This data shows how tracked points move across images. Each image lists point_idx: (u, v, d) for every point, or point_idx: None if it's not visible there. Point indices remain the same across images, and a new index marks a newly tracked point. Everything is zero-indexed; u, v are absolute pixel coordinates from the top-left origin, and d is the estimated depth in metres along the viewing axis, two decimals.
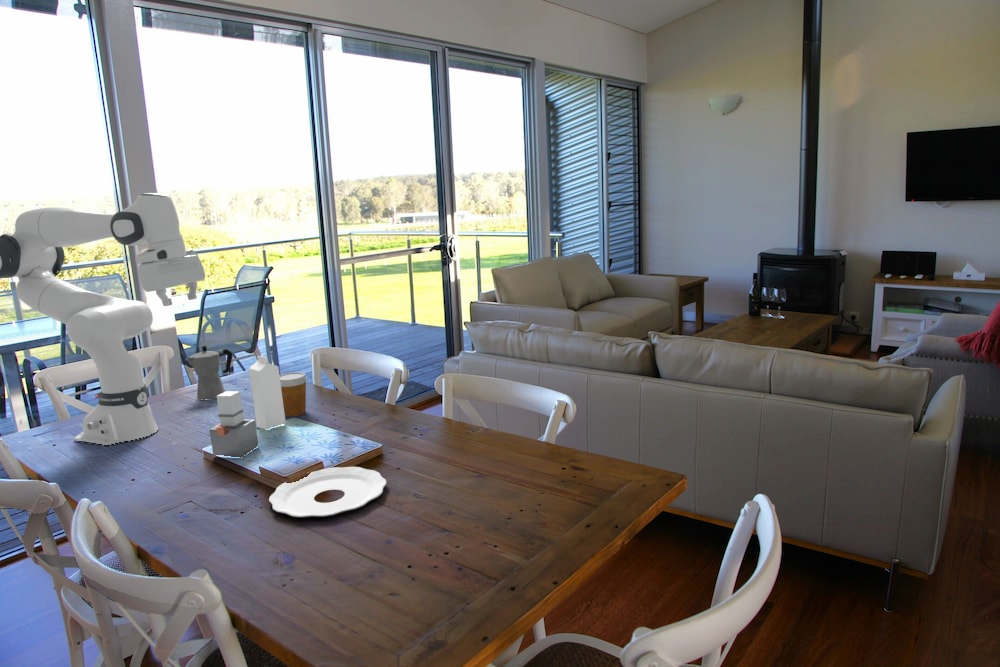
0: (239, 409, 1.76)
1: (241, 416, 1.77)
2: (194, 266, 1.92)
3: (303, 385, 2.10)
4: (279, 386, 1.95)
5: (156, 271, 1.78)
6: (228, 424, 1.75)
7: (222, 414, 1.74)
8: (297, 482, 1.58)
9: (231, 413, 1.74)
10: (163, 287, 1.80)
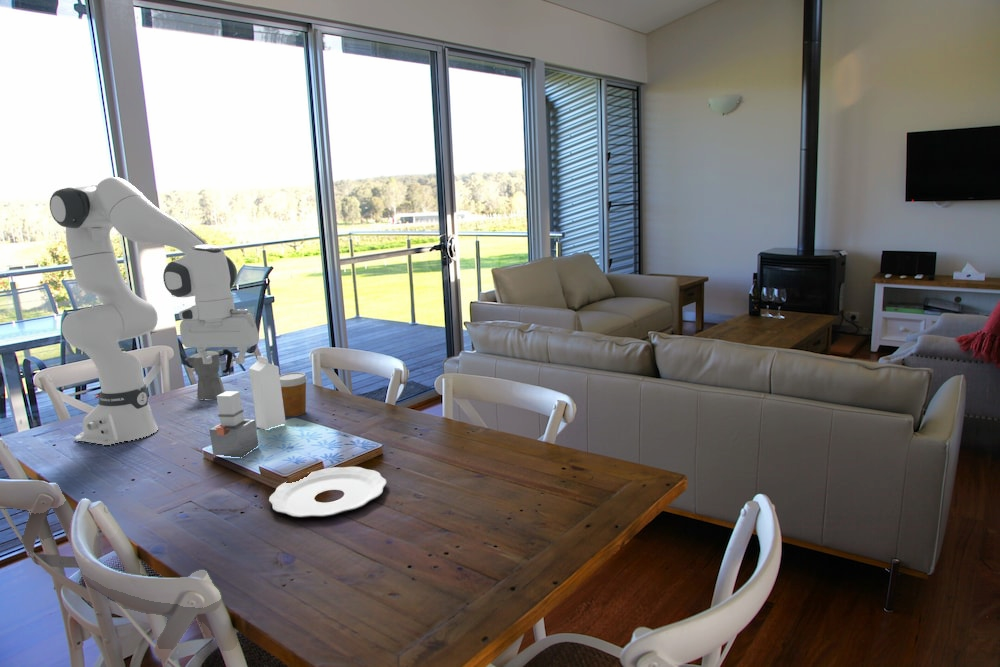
0: (239, 409, 1.76)
1: (241, 416, 1.77)
2: (238, 330, 1.69)
3: (303, 385, 2.10)
4: (279, 386, 1.95)
5: (187, 329, 1.72)
6: (228, 424, 1.75)
7: (222, 414, 1.74)
8: (297, 482, 1.58)
9: (231, 413, 1.74)
10: (194, 346, 1.72)
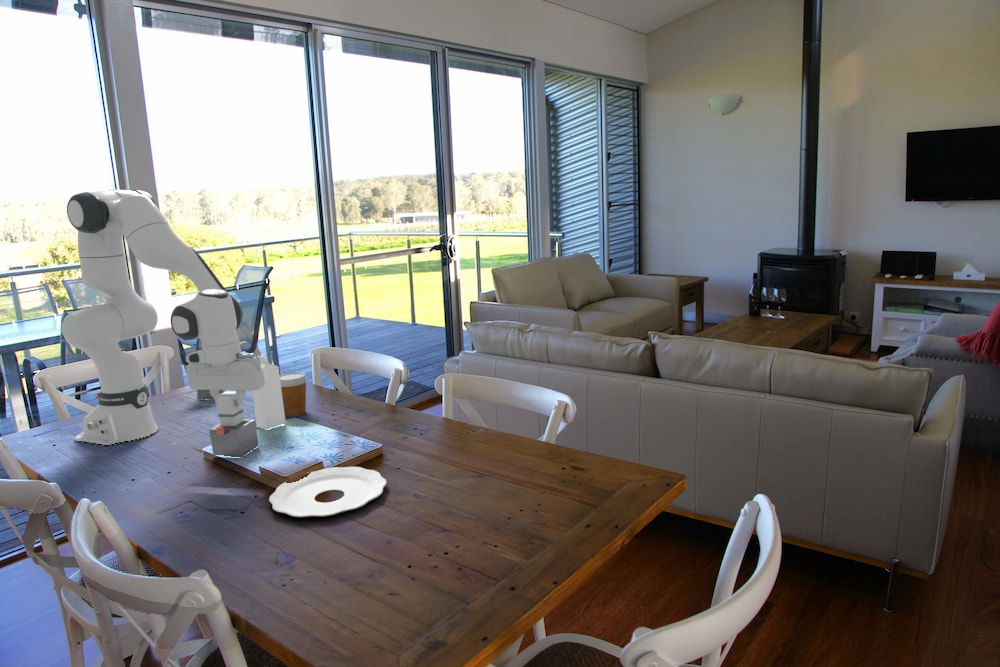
0: (239, 409, 1.76)
1: (241, 416, 1.77)
2: (244, 374, 1.71)
3: (303, 385, 2.10)
4: (279, 386, 1.95)
5: (194, 371, 1.74)
6: (228, 424, 1.75)
7: (222, 414, 1.74)
8: (297, 482, 1.58)
9: (231, 413, 1.74)
10: (200, 388, 1.75)
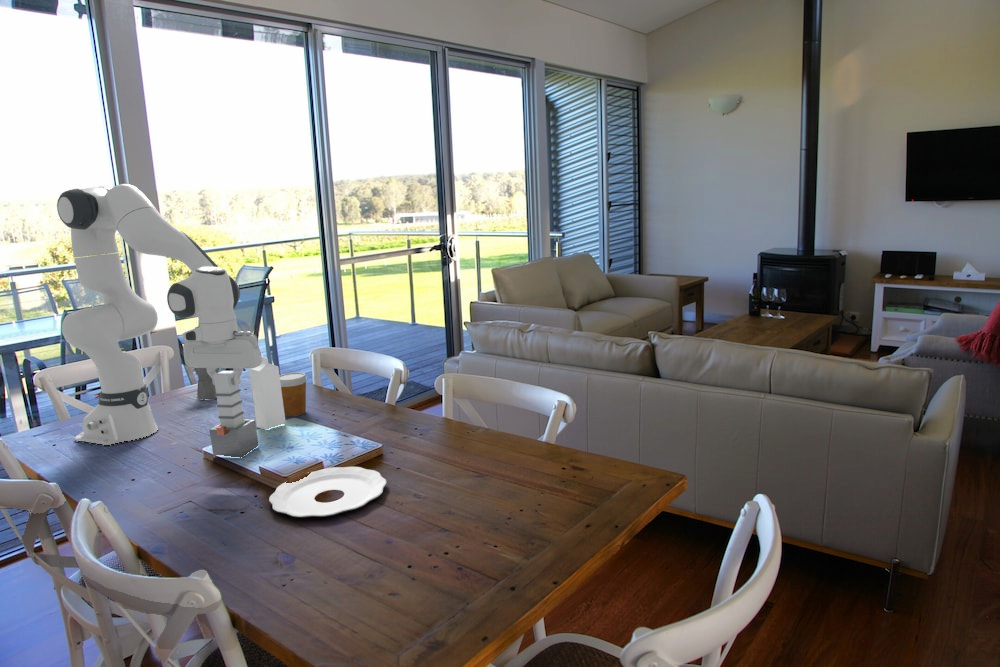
0: (236, 388, 1.75)
1: (238, 396, 1.76)
2: (241, 351, 1.70)
3: (303, 385, 2.10)
4: (279, 386, 1.95)
5: (191, 350, 1.73)
6: (225, 403, 1.74)
7: (219, 393, 1.73)
8: (297, 482, 1.58)
9: (228, 392, 1.73)
10: (197, 366, 1.73)
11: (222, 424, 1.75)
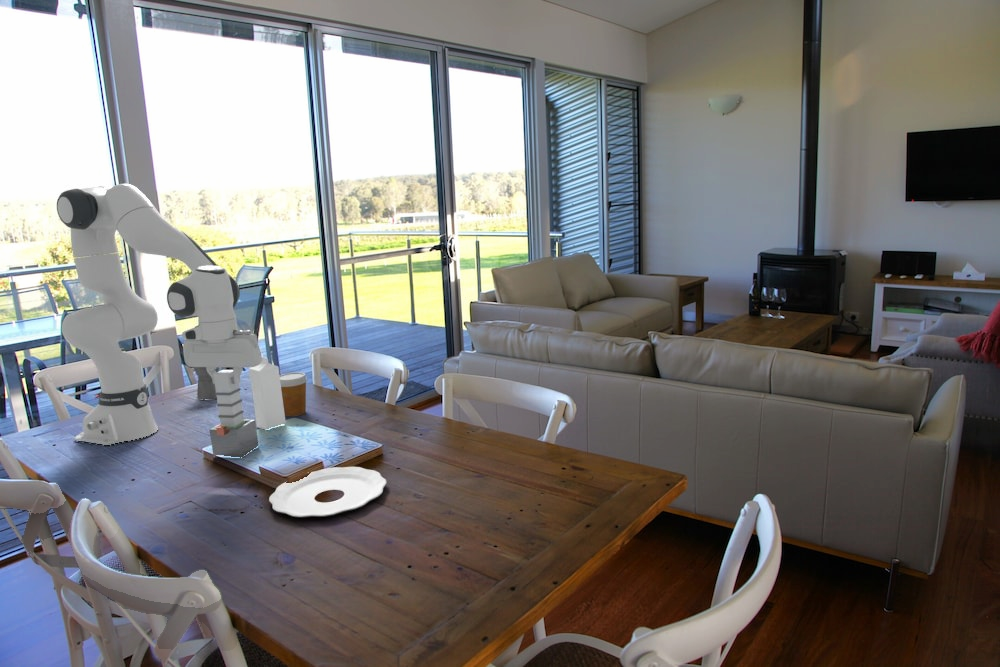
0: (236, 387, 1.75)
1: (238, 395, 1.76)
2: (241, 350, 1.70)
3: (303, 385, 2.10)
4: (279, 386, 1.95)
5: (190, 349, 1.73)
6: (225, 402, 1.74)
7: (219, 392, 1.73)
8: (297, 482, 1.58)
9: (228, 391, 1.73)
10: (197, 365, 1.73)
11: (222, 423, 1.75)
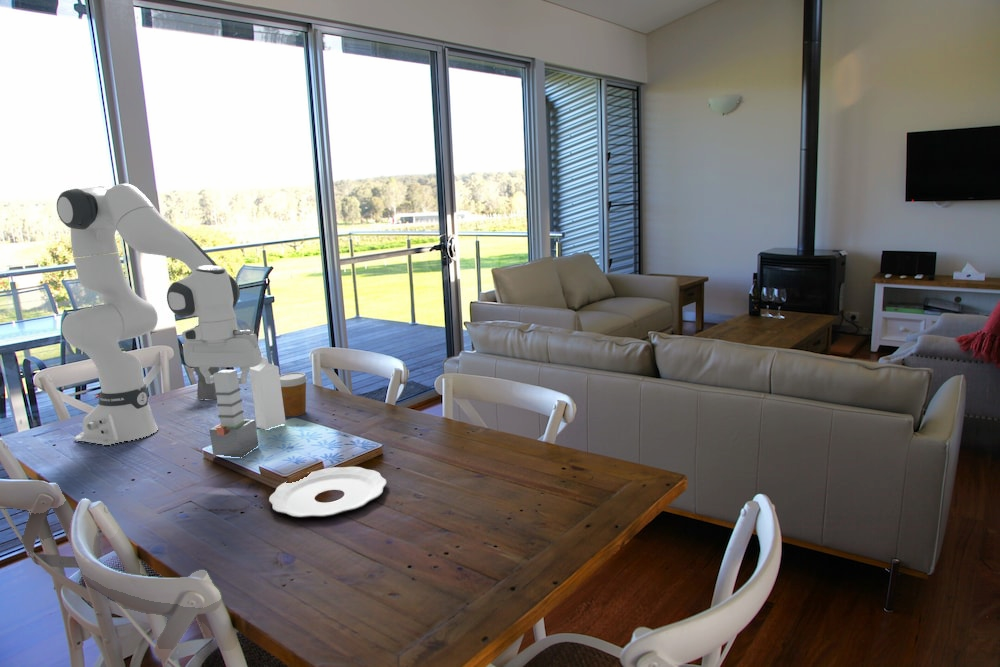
0: (236, 387, 1.75)
1: (238, 395, 1.76)
2: (241, 350, 1.70)
3: (303, 385, 2.10)
4: (279, 386, 1.95)
5: (190, 349, 1.73)
6: (225, 402, 1.74)
7: (219, 392, 1.73)
8: (297, 482, 1.58)
9: (228, 391, 1.73)
10: (197, 365, 1.73)
11: (222, 423, 1.75)
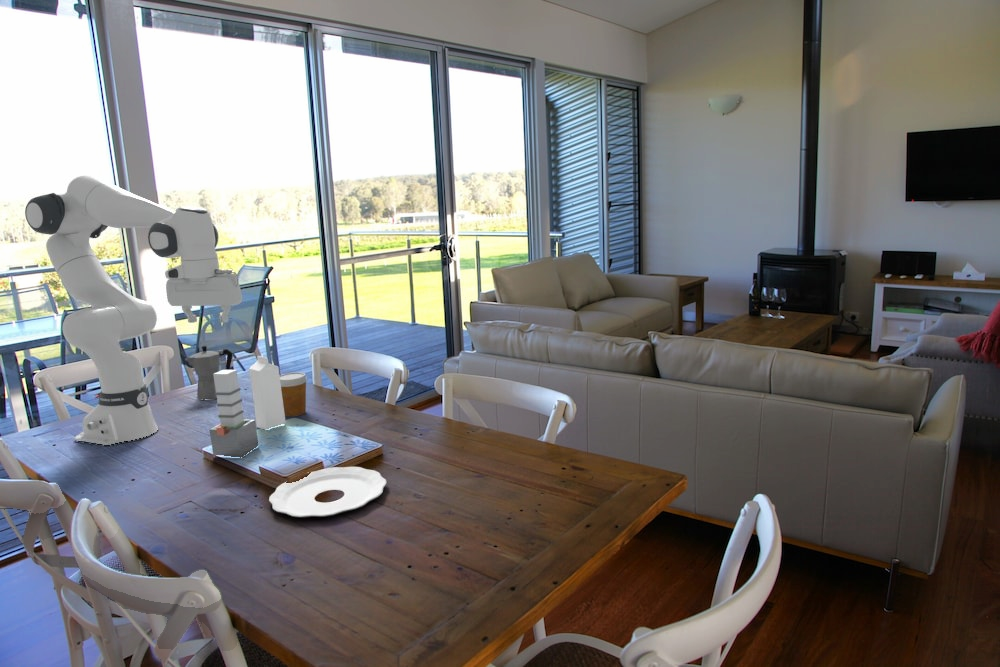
0: (236, 387, 1.75)
1: (238, 395, 1.76)
2: (222, 289, 1.75)
3: (303, 385, 2.10)
4: (279, 386, 1.95)
5: (173, 288, 1.78)
6: (225, 402, 1.74)
7: (219, 392, 1.73)
8: (297, 482, 1.58)
9: (228, 391, 1.73)
10: (179, 304, 1.79)
11: (222, 423, 1.75)
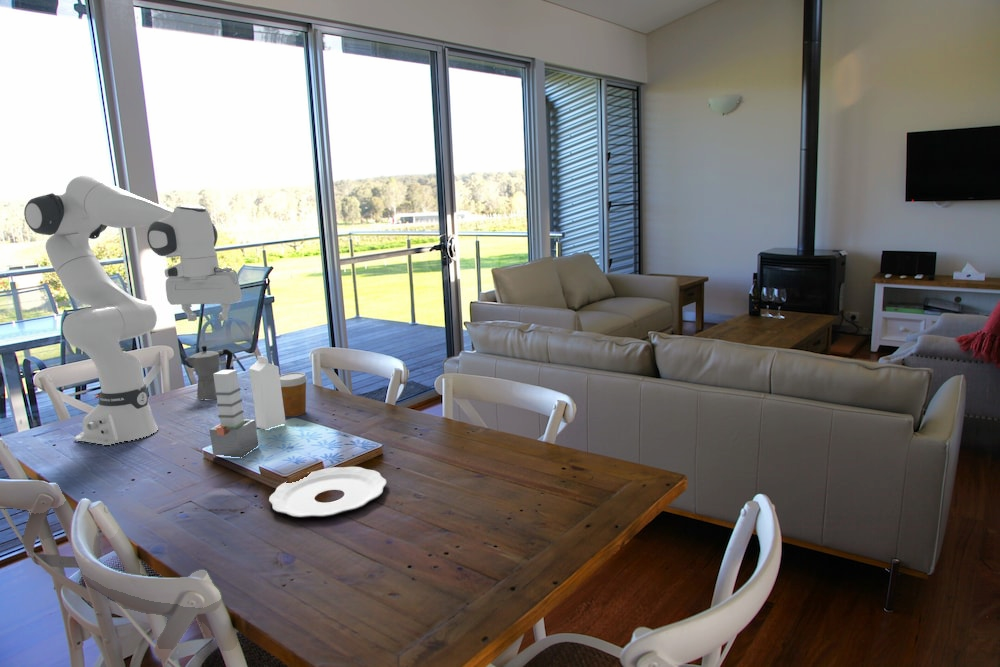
0: (236, 387, 1.75)
1: (238, 395, 1.76)
2: (222, 287, 1.75)
3: (303, 385, 2.10)
4: (279, 386, 1.95)
5: (173, 286, 1.78)
6: (225, 402, 1.74)
7: (219, 392, 1.73)
8: (297, 482, 1.58)
9: (228, 391, 1.73)
10: (179, 303, 1.79)
11: (222, 423, 1.75)
